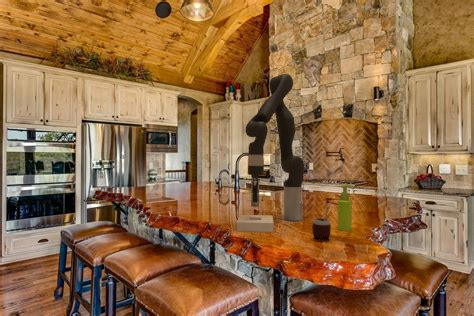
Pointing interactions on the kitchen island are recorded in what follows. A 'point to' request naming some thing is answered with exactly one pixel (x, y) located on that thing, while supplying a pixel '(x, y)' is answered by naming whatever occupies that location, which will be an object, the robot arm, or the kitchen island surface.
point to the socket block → (255, 223)
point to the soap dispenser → (345, 211)
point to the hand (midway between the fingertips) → (255, 201)
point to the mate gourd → (321, 228)
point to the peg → (253, 204)
